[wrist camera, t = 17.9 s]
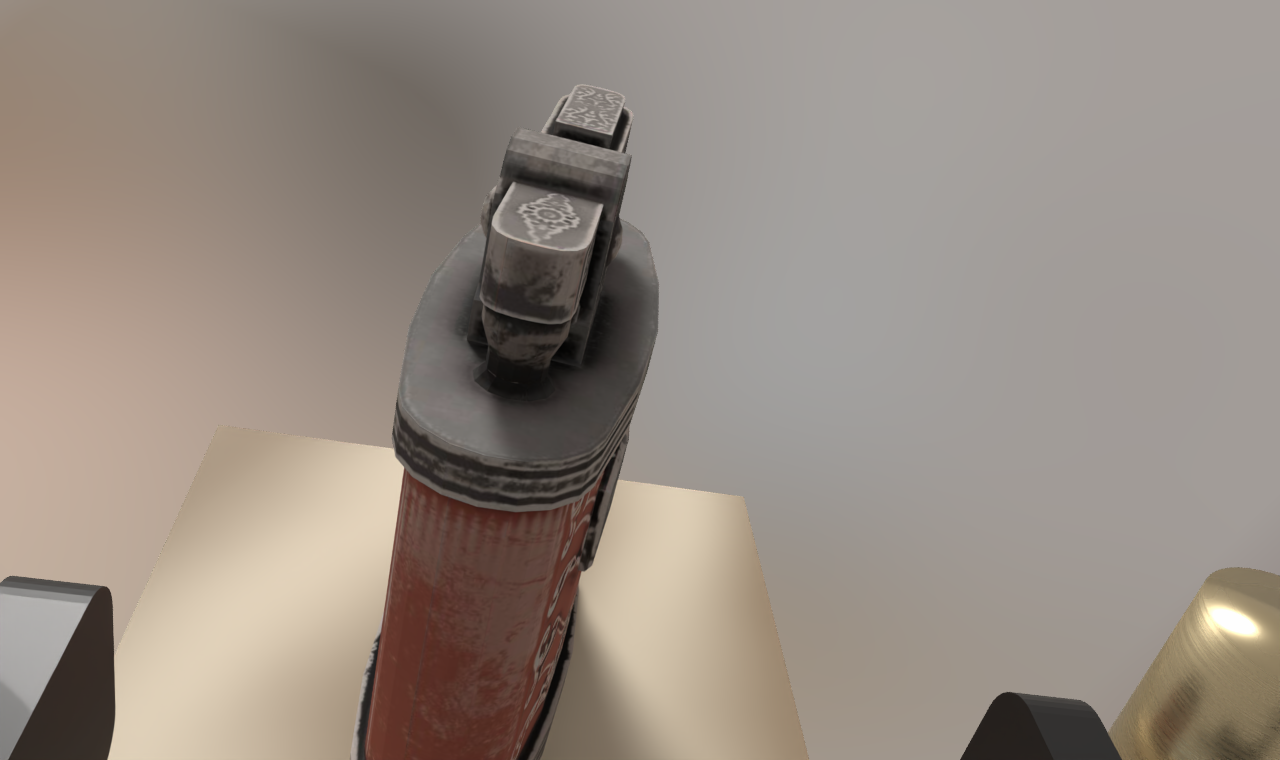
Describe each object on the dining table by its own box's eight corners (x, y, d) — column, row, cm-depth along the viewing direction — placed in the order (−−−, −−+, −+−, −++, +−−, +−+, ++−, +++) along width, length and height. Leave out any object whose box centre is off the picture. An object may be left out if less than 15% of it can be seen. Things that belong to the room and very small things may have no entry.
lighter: (522, 885, 16) (684, 296, 11) (298, 835, 16) (361, 216, 11) (592, 546, 23) (711, 89, 18) (436, 509, 23) (513, 39, 18)
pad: (736, 516, 26) (743, 496, 26) (857, 1029, 16) (870, 1007, 16) (217, 446, 24) (218, 424, 24) (-21, 987, 14) (-25, 961, 14)
